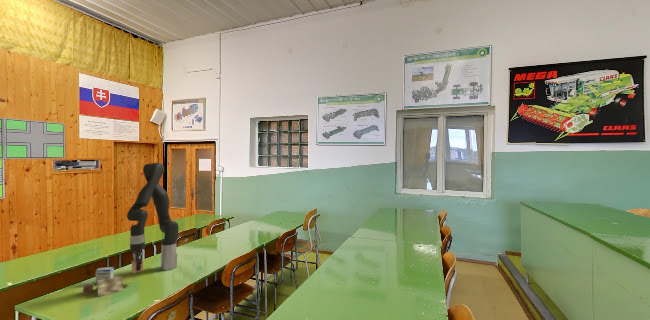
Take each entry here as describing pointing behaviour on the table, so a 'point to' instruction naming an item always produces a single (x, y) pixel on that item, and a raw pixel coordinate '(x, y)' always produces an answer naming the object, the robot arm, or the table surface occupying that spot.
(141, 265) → the terracotta block
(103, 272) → the medicine box
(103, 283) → the birch block
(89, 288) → the walnut block
